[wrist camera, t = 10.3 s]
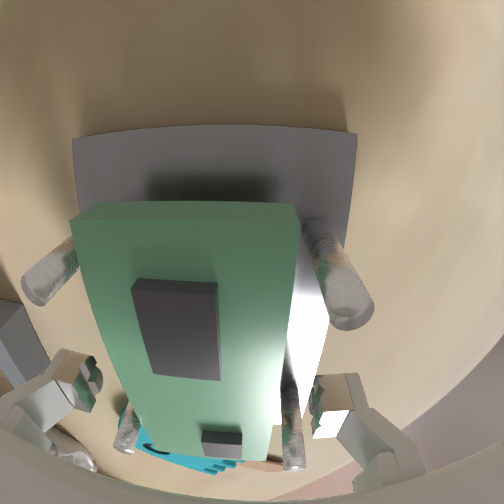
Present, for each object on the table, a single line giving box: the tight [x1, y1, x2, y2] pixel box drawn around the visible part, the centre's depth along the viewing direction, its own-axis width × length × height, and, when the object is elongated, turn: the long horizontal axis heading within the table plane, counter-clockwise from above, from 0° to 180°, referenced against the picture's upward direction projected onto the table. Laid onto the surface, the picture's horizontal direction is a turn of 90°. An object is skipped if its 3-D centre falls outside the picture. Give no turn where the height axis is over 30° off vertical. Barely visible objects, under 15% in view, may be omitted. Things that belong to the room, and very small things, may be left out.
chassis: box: [21, 124, 374, 472], centre depth 10 cm, size 16×10×6 cm, turn 178°
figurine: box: [45, 426, 98, 472], centre depth 16 cm, size 18×13×18 cm
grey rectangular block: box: [0, 299, 51, 389], centre depth 14 cm, size 8×3×3 cm, turn 178°
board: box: [70, 201, 300, 461], centre depth 9 cm, size 12×6×2 cm, turn 179°
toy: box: [118, 408, 283, 475], centre depth 18 cm, size 7×2×15 cm
